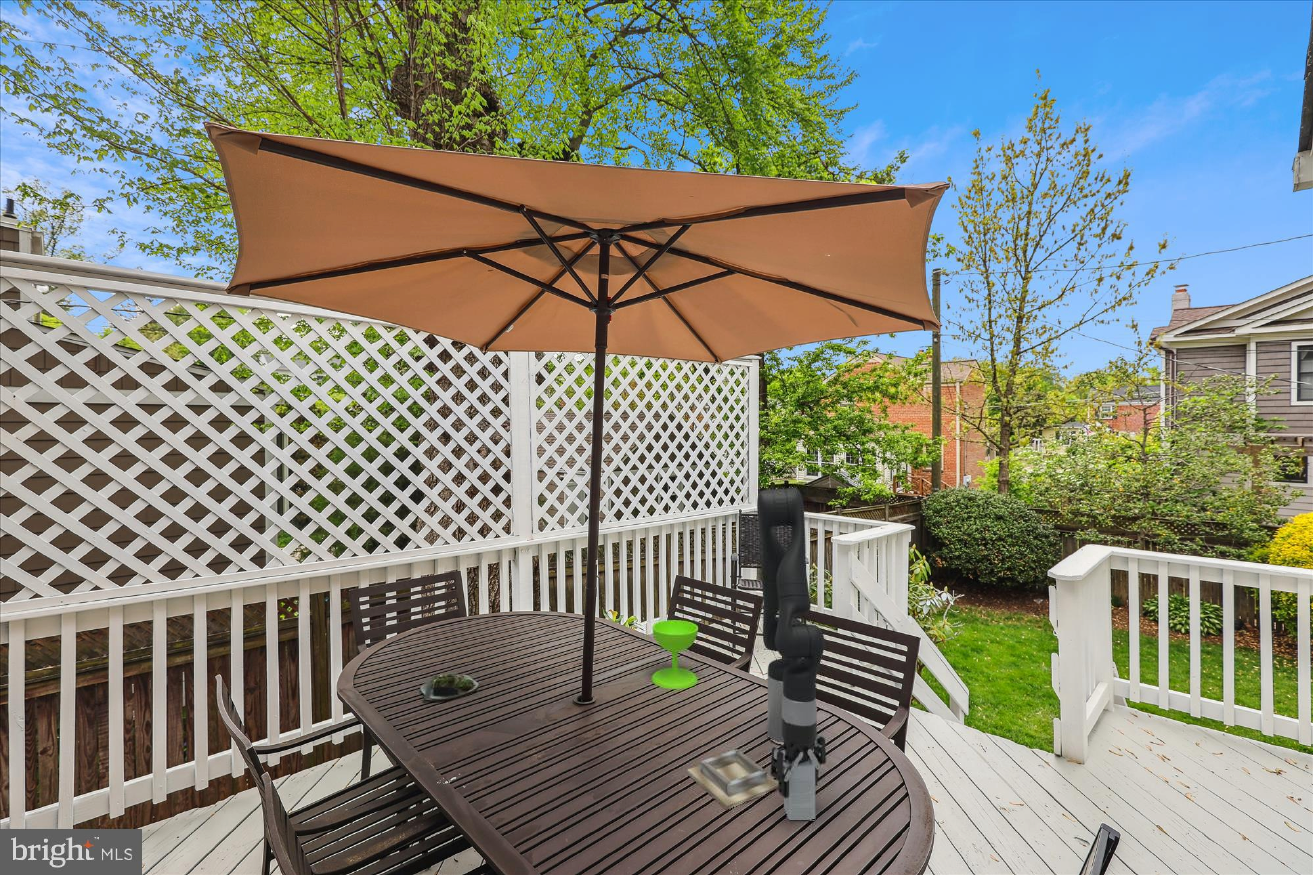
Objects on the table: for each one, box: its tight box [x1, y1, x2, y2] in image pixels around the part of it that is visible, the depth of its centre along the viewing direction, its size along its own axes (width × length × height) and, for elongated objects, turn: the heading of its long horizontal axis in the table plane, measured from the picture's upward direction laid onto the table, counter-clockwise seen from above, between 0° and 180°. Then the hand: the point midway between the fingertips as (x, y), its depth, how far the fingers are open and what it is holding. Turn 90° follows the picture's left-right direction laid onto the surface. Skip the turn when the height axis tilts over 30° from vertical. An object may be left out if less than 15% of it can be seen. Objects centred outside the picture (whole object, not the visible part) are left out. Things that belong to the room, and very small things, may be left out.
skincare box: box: [783, 758, 816, 821], centre depth 123 cm, size 6×4×12 cm
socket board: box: [687, 748, 778, 811], centre depth 135 cm, size 16×16×4 cm
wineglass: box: [651, 619, 699, 690], centre depth 194 cm, size 16×16×18 cm
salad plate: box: [420, 673, 480, 703], centre depth 184 cm, size 19×18×5 cm
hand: (798, 790), depth 123 cm, fingers open, 8 cm apart
